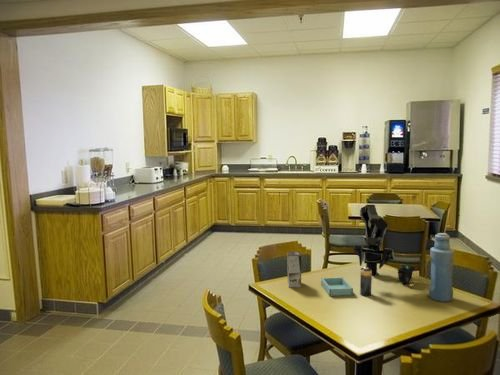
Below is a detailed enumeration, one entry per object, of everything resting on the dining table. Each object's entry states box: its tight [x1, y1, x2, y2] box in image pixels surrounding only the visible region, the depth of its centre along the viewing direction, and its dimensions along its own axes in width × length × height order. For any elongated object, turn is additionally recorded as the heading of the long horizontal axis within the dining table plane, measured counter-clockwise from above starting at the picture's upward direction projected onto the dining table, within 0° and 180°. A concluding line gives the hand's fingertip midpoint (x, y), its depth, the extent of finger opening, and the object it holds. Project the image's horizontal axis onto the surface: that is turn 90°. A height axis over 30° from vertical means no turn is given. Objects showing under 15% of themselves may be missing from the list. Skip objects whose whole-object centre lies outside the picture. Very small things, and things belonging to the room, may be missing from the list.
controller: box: [397, 264, 416, 285], centre depth 202 cm, size 4×12×10 cm, turn 132°
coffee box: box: [286, 250, 302, 288], centre depth 201 cm, size 9×6×16 cm
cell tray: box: [320, 276, 354, 297], centre depth 193 cm, size 16×11×4 cm
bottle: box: [428, 232, 455, 303], centre depth 180 cm, size 10×10×30 cm
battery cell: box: [359, 266, 373, 297], centre depth 187 cm, size 5×5×13 cm
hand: (369, 266), depth 191 cm, fingers open, 9 cm apart
